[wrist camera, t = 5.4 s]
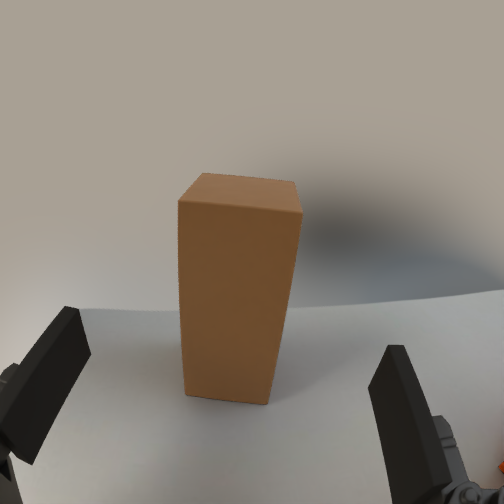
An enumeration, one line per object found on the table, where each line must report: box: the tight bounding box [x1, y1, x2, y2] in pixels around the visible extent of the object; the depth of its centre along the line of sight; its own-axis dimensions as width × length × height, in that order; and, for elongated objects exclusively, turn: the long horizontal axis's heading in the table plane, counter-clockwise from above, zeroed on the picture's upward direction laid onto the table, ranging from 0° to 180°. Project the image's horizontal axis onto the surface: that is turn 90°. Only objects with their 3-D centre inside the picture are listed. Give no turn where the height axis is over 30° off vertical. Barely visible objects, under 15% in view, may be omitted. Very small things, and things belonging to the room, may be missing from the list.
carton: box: [178, 173, 303, 404], centre depth 18 cm, size 5×5×12 cm
